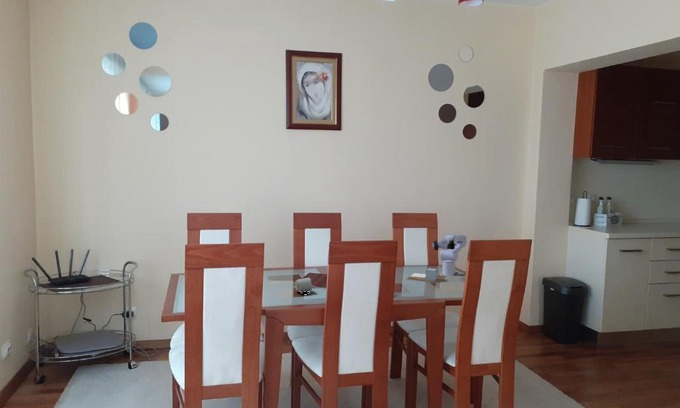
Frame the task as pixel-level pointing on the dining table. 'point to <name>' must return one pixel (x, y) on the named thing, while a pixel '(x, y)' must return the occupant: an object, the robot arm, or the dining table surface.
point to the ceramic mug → (303, 285)
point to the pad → (418, 275)
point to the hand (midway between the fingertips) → (441, 247)
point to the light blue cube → (431, 274)
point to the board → (426, 280)
